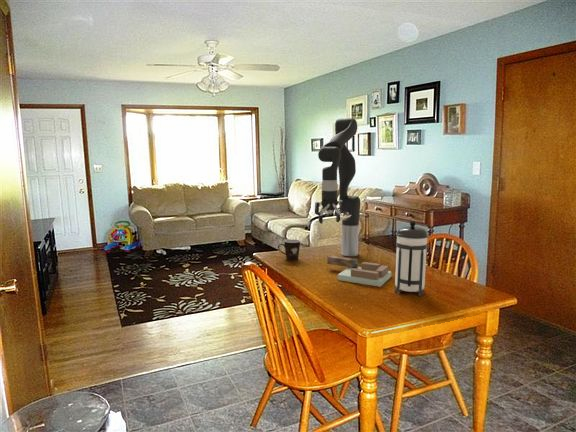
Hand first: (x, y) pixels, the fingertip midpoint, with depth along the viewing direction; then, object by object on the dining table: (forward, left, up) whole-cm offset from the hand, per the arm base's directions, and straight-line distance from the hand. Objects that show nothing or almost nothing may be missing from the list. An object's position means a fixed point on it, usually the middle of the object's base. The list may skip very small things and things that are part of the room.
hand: (329, 222), depth 210 cm
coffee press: (+13, +43, -24) cm, 51 cm away
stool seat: (+4, +20, -24) cm, 31 cm away
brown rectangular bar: (-3, +6, -21) cm, 22 cm away
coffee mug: (-10, -27, -24) cm, 38 cm away
